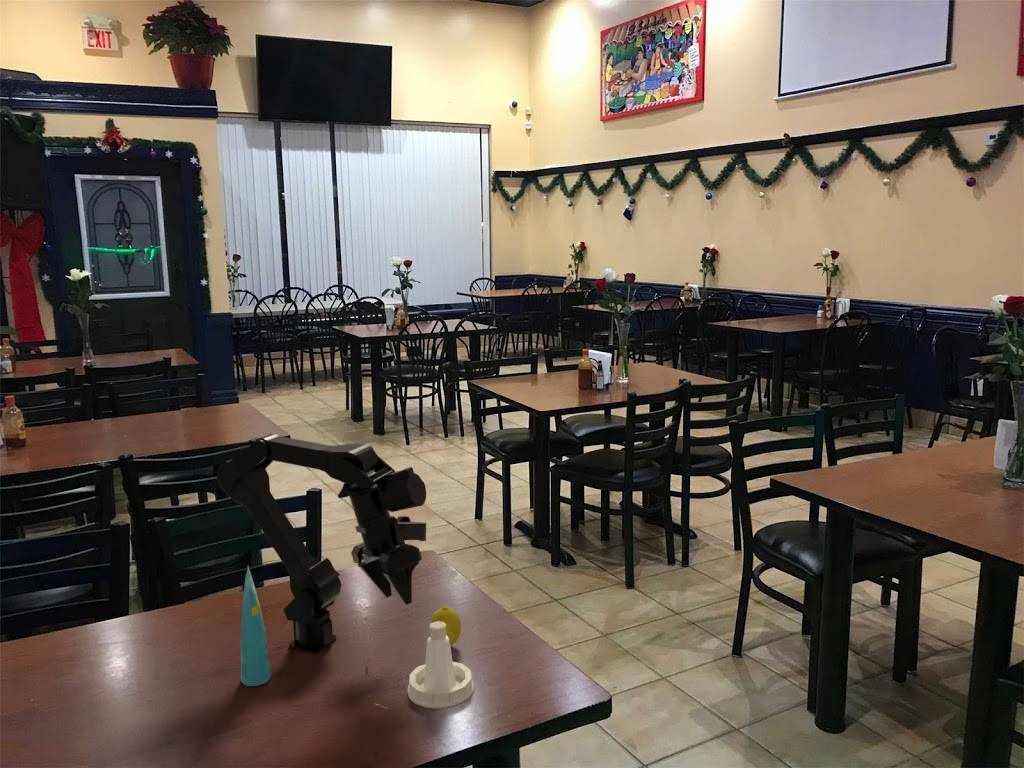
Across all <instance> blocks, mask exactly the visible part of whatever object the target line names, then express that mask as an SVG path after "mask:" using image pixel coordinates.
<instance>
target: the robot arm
mask: <svg viewBox="0 0 1024 768" xmlns="http://www.w3.org/2000/svg"><path fill="white" fill-rule="evenodd" d="M273 462H279V463H283V464H289V465H295V466H300V467H305V468H310V469H315V470H319V471H322V472H324V473H325V474H326V475H328V476H329V477H330V478H331V479H334V480H336V481H338V482H341V483H343V484H342V488H341V490H339V493H338V494H337V498H338V499H343V498H347V497H348V498H349V500H350V503H351V506H352V510H353V513H354V516H355V520H356V523H357V525H355V526H354V527H355V531H356V532H357V533H360V535H361V539H362V543H359V544H357V545H355V546H353V548H352V550H351V551H350V554H351V557H352V560H353V563H354V564H357V567H358V568H360V570H361V571H362V572H363V573H364V574H365V575H366V576H367V577H368V578H369V579H370V581H371V582H372V583H373V584H374V585H375V586H376V587H377V589H379V591H380V593H382V594H383V595H384V596H385V598H389V597H391V596H392V594H393V593H392V588H393V589H394V591H395V592H396V594H397V595H398V597H399V598H400V599H401V600H402V602H403V604H405V606H406V605H410V604H411V603H413V597H412V596H413V588H412V586H413V583H412V581H413V571H414V570H415V568H416V566H418V565H419V563H420V561H421V560H422V559H423V557H422V554H421V550H420V548H419V547H418V546H415V545H412V544H407V543H406V541H420V542H426V541H427V522H420V521H412V520H411V519H410V517H409V516H407V515H406V516H405V515H399V516H397V517H395V516H392V515H391V514H390V513H393V512H399V511H403V510H408V509H413V508H418V507H422V506H423V505H424V504H425V502H426V500H427V488H426V484H425V482H424V481H423V479H422V478H421V476H420V475H418V474H417V473H415V471H414V468H413V467H412V466H409V467H406V468H404V469H402V470H397V471H396V470H395V469H394V468H393V467H392V466H390V465H389V464H388V463H387V462H386V461H385V460H383V459H382V457H380V456H379V455H378V454H377V452H376V451H375V449H374V447H373V446H372V445H369V444H366V443H348V444H339V445H329V444H323V443H318V442H313V441H307V440H303V439H302V440H301V439H296V438H291V437H286V436H280V435H279V434H277V433H270V434H266V435H264V436H261V437H258V438H257V439H255V440H254V441H253V442H252V443H251V444H250V445H249V446H248V447H247V448H246V449H244V450H243V451H241V452H240V453H239V454H237V455H236V456H235V457H233V458H231V459H229V460H226V461H224V462H222V463H221V464H220V465H219V466H218V469H217V472H216V473H217V475H216V481H217V483H218V485H219V487H221V489H222V490H223V491H224V493H226V495H227V496H228V497H229V498H230V499H231V500H233V501H235V502H236V503H238V504H240V505H242V506H244V507H246V508H247V511H248V512H249V513H250V514H251V516H252V518H253V519H254V521H255V523H256V524H257V525H258V527H259V528H260V530H261V531H262V533H263V534H264V536H265V538H266V539H267V540H268V542H269V544H270V545H271V547H272V548H273V549H274V551H275V553H276V554H277V556H278V557H279V559H280V560H281V562H282V563H283V565H284V566H285V568H286V570H287V572H288V575H289V578H288V579H289V588H290V592H291V594H292V596H293V597H294V598H293V599H292V600H291V601H290V602H289V603H288V604H287V605H286V606H285V607H284V608H283V613H284V615H285V618H286V620H287V621H291V622H292V630H293V640H292V641H291V642H290V643H288V648H292V649H296V650H300V651H305V652H309V653H313V654H317V653H319V652H320V651H322V650H323V649H324V648H326V647H327V646H329V644H331V643H333V641H334V640H337V638H338V636H337V635H336V634H333V633H334V632H333V620H332V619H331V610H327V609H328V608H330V606H334V604H335V601H336V598H338V597H339V596H340V593H341V591H342V590H341V588H342V582H341V579H340V576H341V573H339V572H338V571H337V570H336V569H335V568H334V566H333V564H332V561H331V560H330V559H329V558H328V557H326V558H324V559H322V560H320V559H318V558H316V557H315V556H314V555H312V553H311V552H310V551H309V549H308V548H307V546H306V544H305V543H304V541H303V540H302V538H301V537H300V535H299V534H298V532H297V531H296V529H295V528H294V526H293V524H292V523H291V521H290V520H289V519H288V517H287V515H286V514H285V512H284V511H283V509H282V508H281V506H280V505H279V503H278V501H277V500H276V498H275V497H274V496H273V494H272V492H271V486H270V475H269V472H268V471H267V468H268V467H269V466H271V464H272V463H273Z"/></svg>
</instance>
